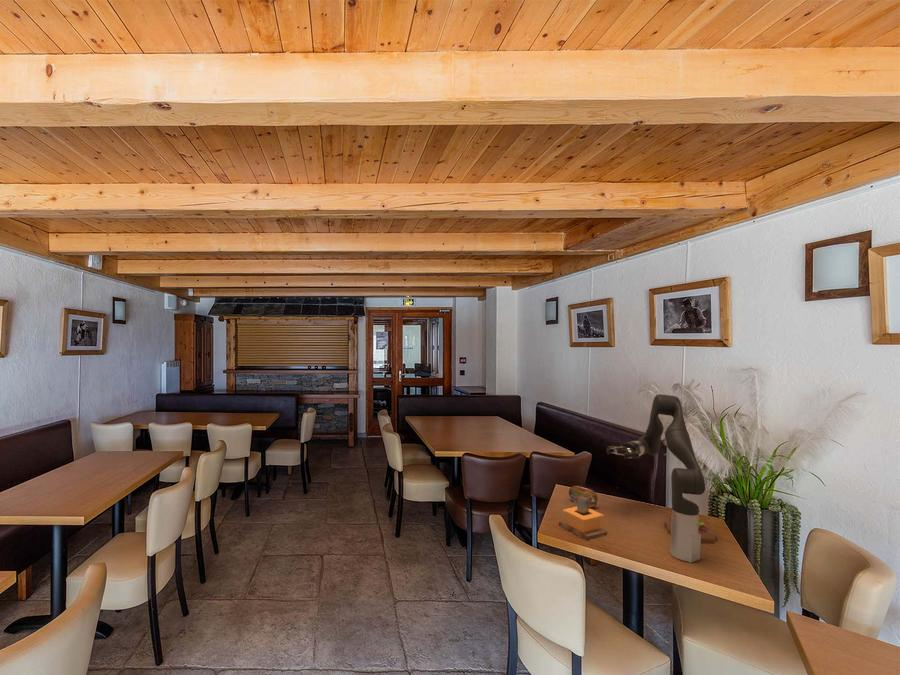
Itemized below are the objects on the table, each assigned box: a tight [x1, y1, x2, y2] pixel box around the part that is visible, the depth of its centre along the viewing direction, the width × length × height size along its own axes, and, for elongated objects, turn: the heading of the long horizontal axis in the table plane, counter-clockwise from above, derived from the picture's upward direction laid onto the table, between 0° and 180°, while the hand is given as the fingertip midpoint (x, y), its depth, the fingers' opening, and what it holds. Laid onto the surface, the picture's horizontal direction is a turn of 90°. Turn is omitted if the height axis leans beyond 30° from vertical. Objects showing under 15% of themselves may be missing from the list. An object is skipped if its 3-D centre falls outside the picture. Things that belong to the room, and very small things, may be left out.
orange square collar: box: [562, 506, 605, 533], centre depth 185 cm, size 12×12×6 cm
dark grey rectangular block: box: [576, 496, 589, 516], centre depth 186 cm, size 4×4×12 cm
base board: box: [558, 519, 608, 541], centre depth 185 cm, size 16×12×2 cm
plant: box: [663, 510, 718, 545], centre depth 186 cm, size 20×20×11 cm
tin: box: [568, 485, 599, 508], centre depth 215 cm, size 15×3×8 cm, turn 40°
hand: (615, 454), depth 198 cm, fingers open, 8 cm apart
